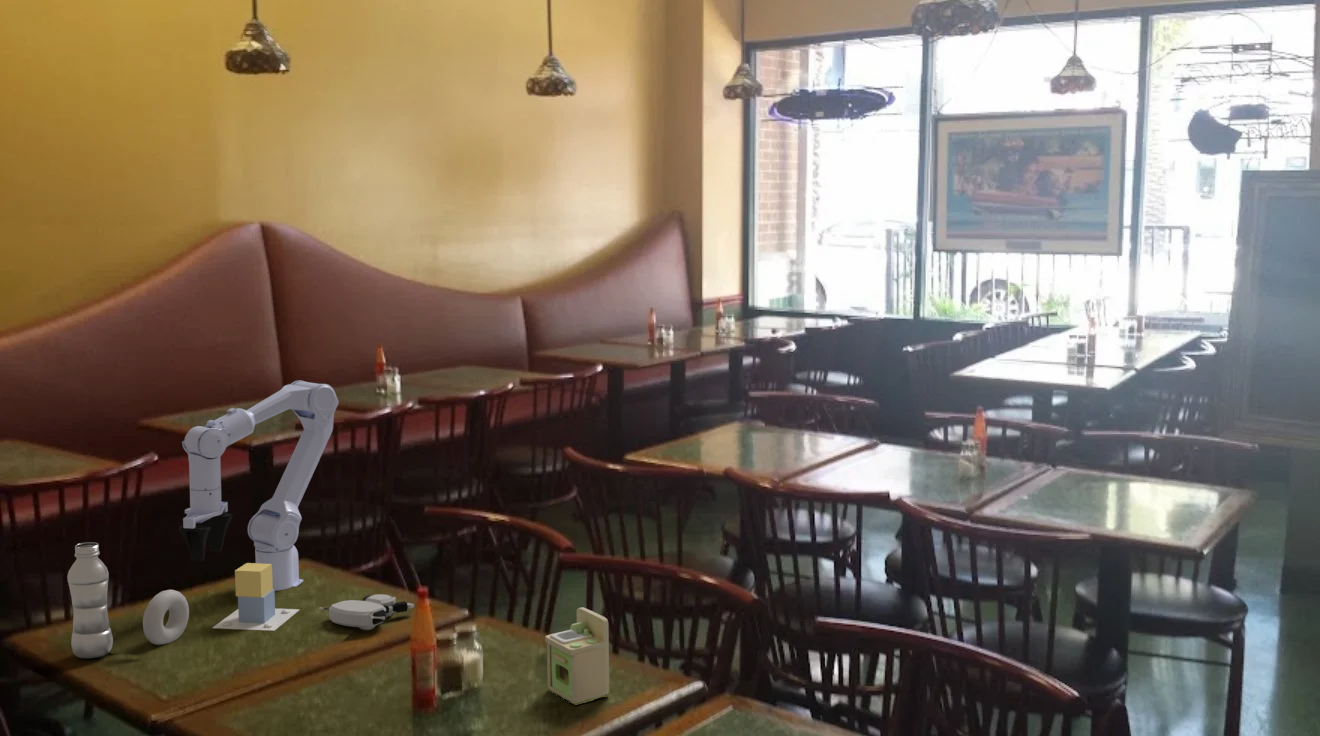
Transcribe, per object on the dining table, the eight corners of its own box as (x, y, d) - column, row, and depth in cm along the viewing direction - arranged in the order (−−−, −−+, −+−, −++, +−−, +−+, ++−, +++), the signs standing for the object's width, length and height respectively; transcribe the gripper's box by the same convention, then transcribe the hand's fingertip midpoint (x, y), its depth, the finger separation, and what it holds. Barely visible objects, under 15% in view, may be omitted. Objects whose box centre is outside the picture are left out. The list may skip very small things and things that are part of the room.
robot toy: (367, 610, 236) (316, 628, 223) (367, 588, 236) (316, 604, 222) (418, 619, 231) (369, 638, 218) (418, 596, 231) (369, 613, 217)
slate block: (250, 613, 228) (249, 588, 228) (275, 614, 228) (274, 589, 227) (238, 622, 224) (237, 596, 223) (264, 623, 223) (263, 597, 223)
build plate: (240, 611, 232) (240, 605, 232) (300, 613, 231) (299, 607, 231) (212, 632, 221) (212, 626, 220) (274, 634, 219) (274, 628, 219)
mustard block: (247, 588, 228) (246, 562, 227) (272, 589, 228) (271, 563, 227) (235, 596, 223) (234, 570, 222) (261, 597, 223) (260, 571, 222)
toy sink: (543, 691, 194) (543, 613, 193) (580, 680, 199) (580, 605, 197) (571, 708, 188) (571, 628, 186) (610, 697, 192) (610, 619, 190)
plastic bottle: (97, 664, 204) (91, 551, 202) (63, 661, 206) (56, 548, 203) (121, 651, 210) (116, 541, 208) (88, 648, 212) (82, 539, 209)
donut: (155, 655, 209) (152, 600, 208) (139, 652, 210) (136, 597, 209) (194, 636, 218) (192, 583, 217) (179, 634, 219) (176, 581, 218)
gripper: (203, 479, 239) (204, 545, 241) (167, 495, 225) (169, 564, 227) (237, 481, 239) (238, 546, 240) (203, 496, 224) (204, 566, 226)
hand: (207, 555), depth 233 cm, fingers open, 7 cm apart
